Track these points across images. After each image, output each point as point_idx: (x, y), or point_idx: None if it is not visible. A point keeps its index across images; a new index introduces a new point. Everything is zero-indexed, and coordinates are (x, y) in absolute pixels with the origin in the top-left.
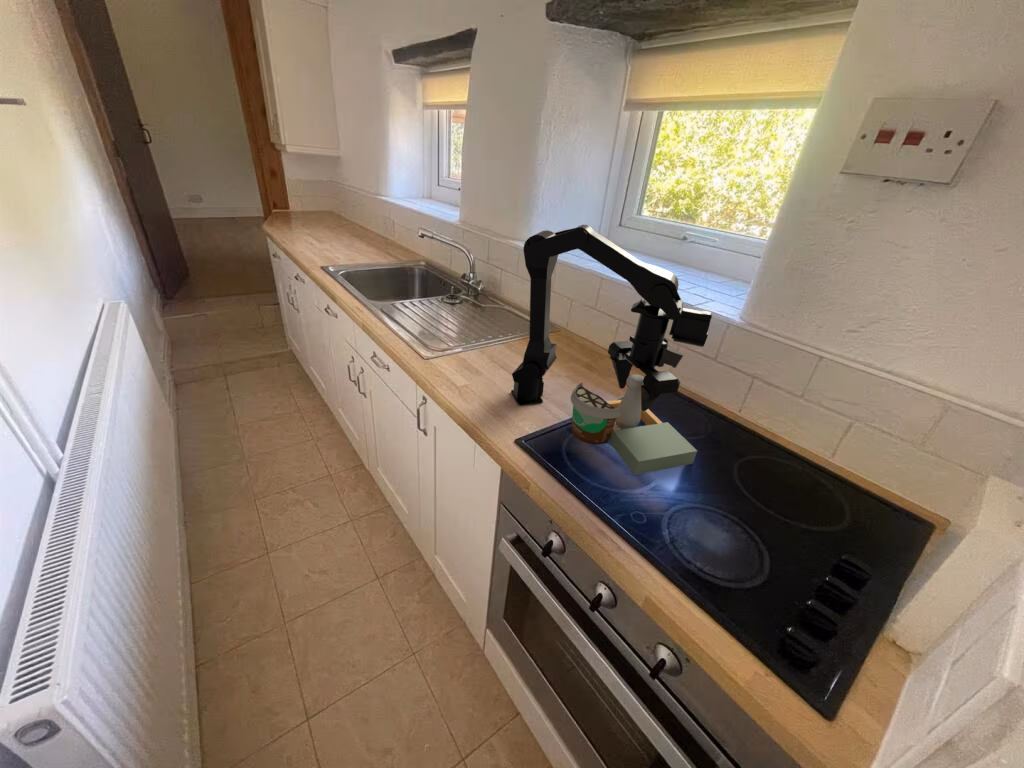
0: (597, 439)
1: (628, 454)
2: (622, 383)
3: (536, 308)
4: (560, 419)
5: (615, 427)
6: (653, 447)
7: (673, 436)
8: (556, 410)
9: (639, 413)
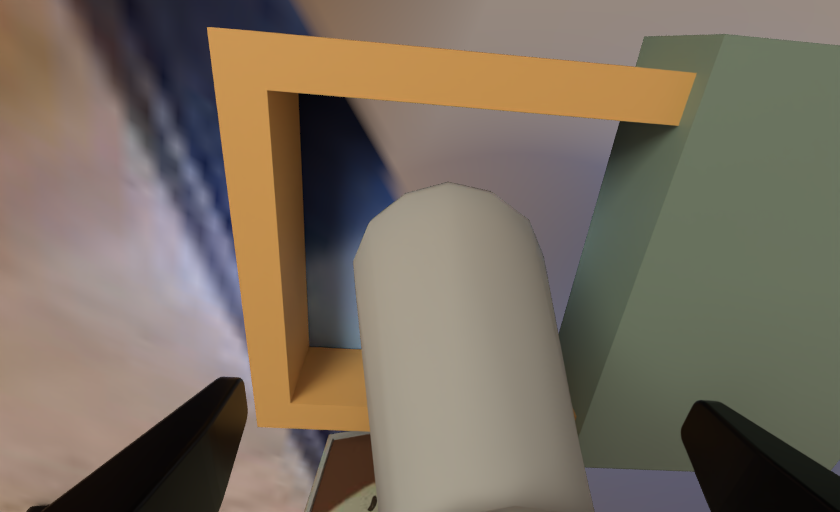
0: None
1: None
2: (218, 470)
3: None
4: (304, 490)
5: None
6: (825, 360)
7: None
8: (229, 481)
9: (544, 281)
